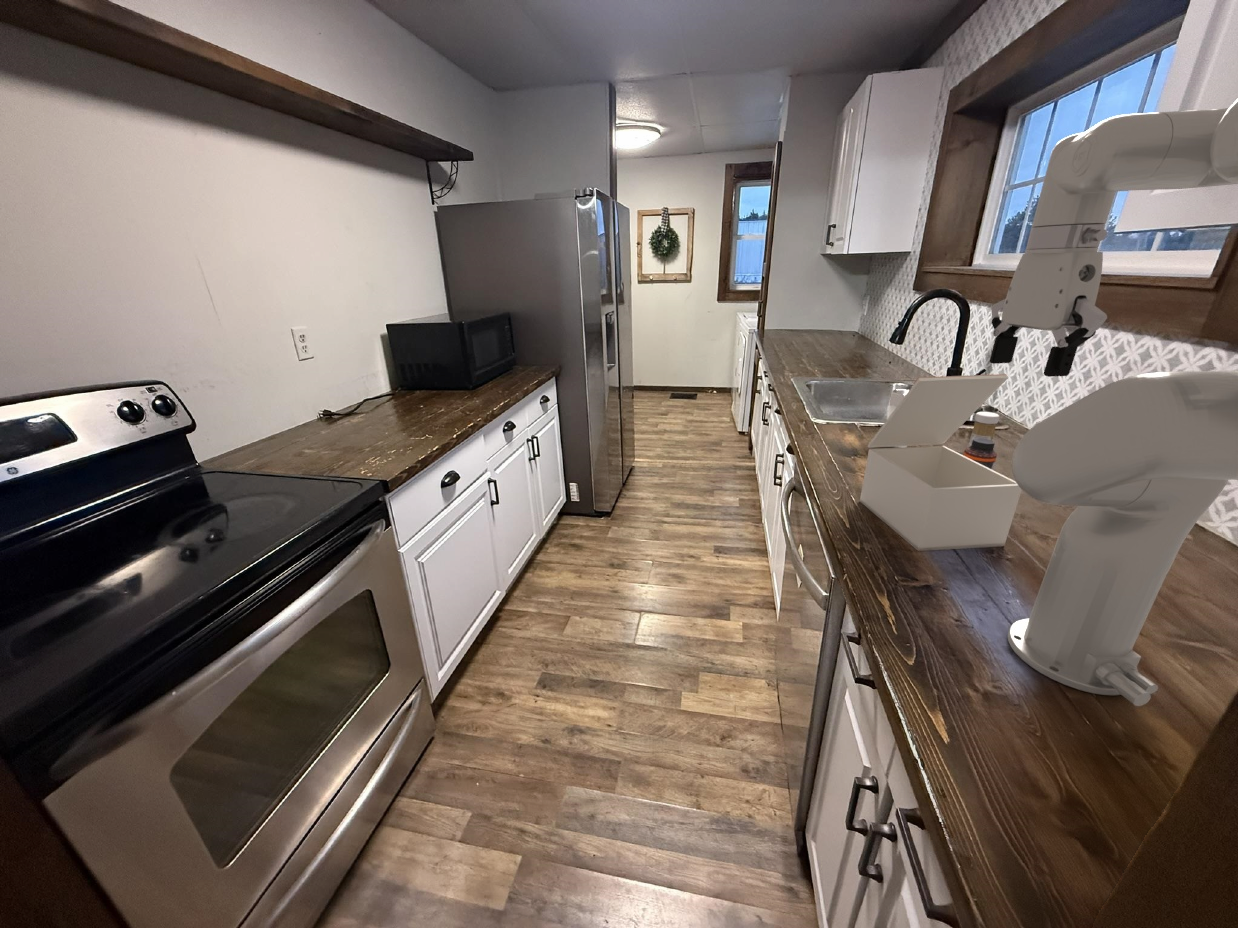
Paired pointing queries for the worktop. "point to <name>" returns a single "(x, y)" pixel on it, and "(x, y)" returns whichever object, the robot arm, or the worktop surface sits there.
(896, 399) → the beer glass
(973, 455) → the supplement bottle
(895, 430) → the lid flap
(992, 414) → the sprinkles bottle
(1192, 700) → the worktop surface
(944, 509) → the carton
